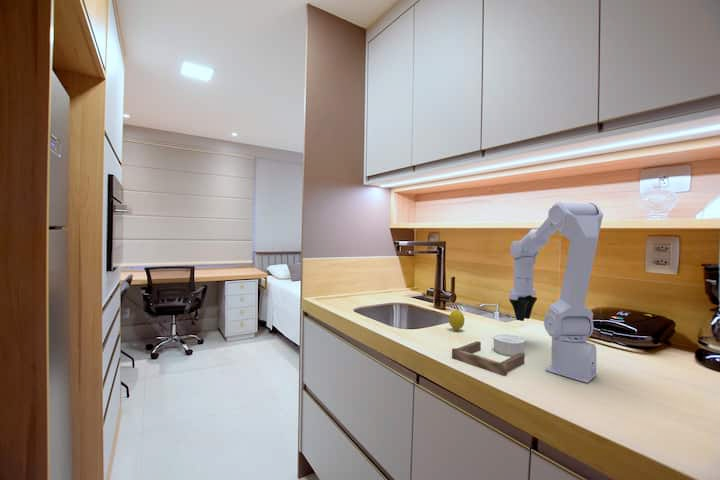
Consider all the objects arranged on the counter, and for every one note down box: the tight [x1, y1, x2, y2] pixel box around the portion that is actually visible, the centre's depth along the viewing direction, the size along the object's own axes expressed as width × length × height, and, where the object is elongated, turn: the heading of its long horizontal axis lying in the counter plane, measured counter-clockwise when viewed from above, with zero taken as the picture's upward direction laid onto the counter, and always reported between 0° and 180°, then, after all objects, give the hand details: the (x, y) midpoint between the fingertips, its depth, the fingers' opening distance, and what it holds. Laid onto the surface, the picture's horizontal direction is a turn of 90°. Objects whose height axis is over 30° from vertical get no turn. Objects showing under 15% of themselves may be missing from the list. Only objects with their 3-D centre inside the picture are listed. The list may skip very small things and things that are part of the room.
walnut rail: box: [451, 340, 525, 377], centre depth 91 cm, size 16×13×2 cm
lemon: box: [448, 309, 465, 331], centre depth 121 cm, size 6×6×8 cm
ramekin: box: [492, 333, 525, 357], centre depth 98 cm, size 9×9×4 cm
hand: (523, 319), depth 105 cm, fingers open, 4 cm apart
